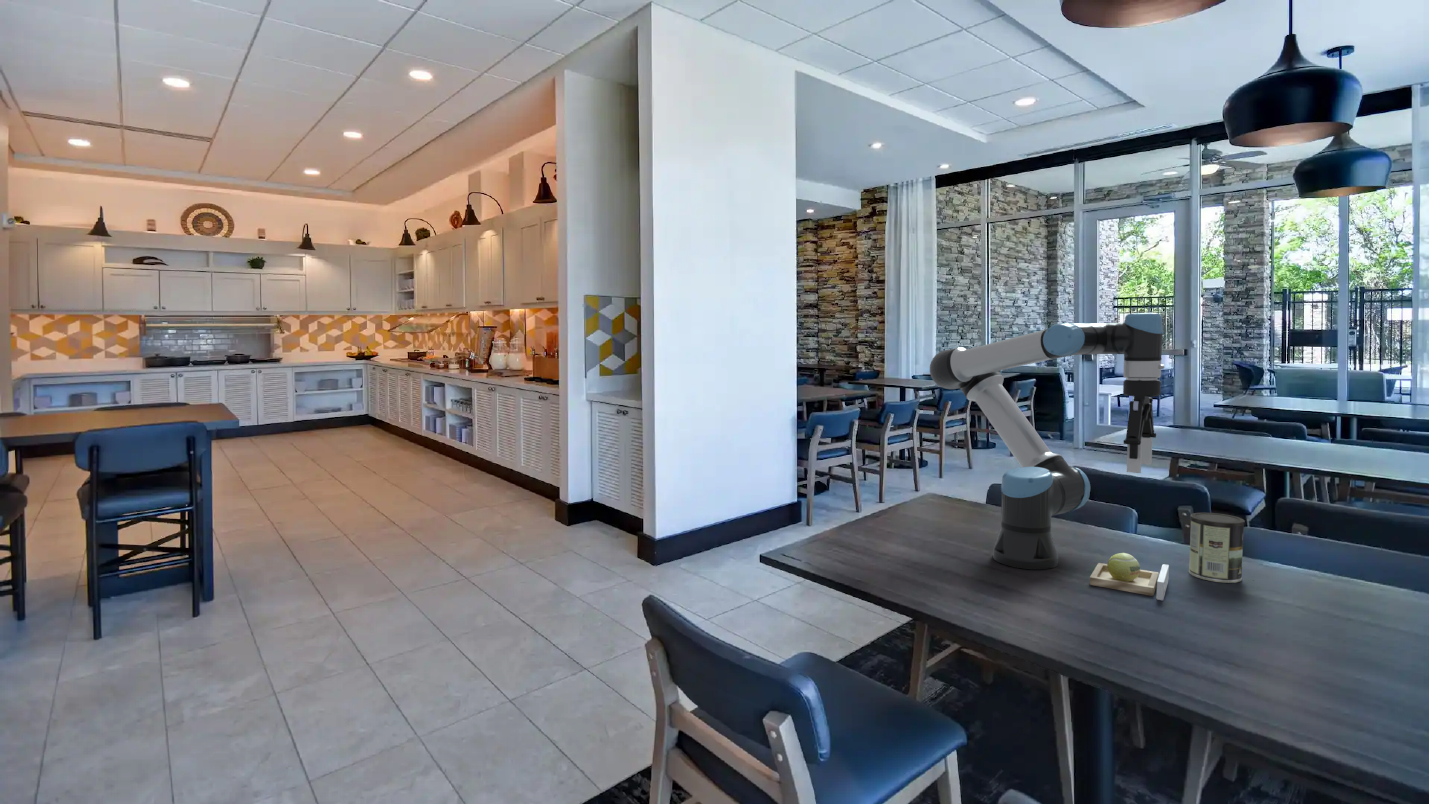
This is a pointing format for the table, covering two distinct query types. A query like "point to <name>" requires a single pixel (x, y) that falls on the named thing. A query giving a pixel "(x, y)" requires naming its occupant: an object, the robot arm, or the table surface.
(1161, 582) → the panel
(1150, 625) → the table surface
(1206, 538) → the coffee can
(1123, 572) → the tennis ball
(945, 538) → the table surface
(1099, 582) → the tray
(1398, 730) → the table surface
